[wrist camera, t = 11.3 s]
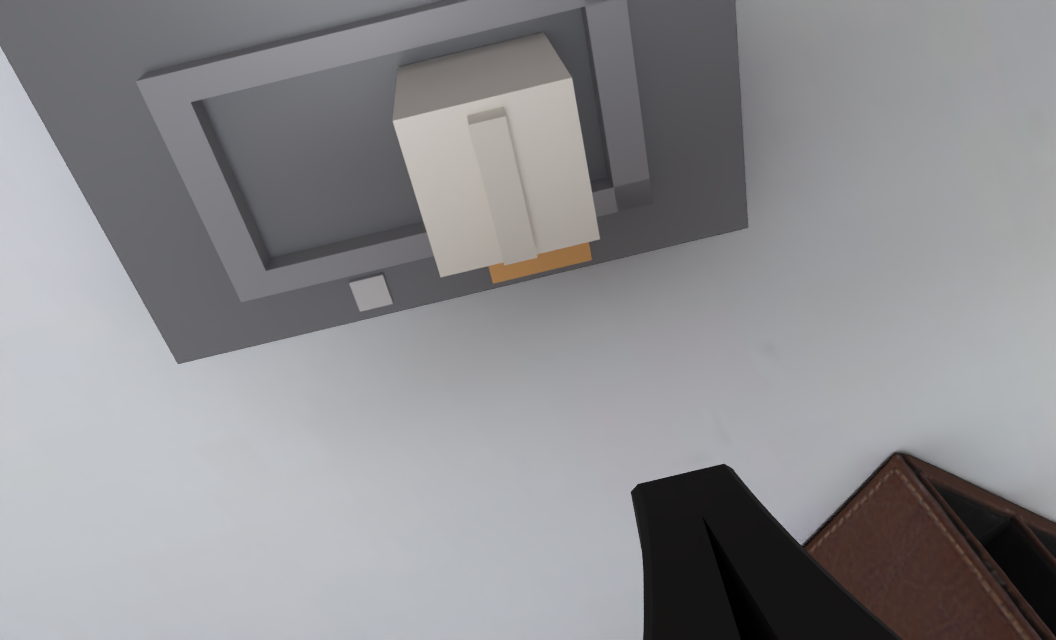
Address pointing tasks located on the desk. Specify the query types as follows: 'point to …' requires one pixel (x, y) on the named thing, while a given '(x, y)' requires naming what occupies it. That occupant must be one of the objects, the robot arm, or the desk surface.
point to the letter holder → (943, 557)
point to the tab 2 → (495, 154)
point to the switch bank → (354, 144)
